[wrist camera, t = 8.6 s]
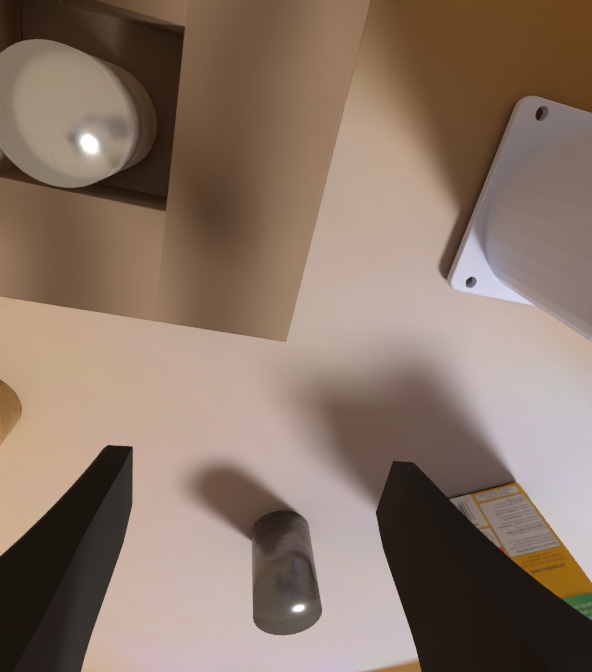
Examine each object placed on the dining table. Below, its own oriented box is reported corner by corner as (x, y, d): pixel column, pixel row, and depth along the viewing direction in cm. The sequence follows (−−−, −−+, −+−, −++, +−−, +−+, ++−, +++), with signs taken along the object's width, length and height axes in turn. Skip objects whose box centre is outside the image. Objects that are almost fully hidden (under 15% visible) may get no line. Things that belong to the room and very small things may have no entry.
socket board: (371, -65, 14) (395, -97, 12) (281, 317, 20) (286, 341, 18) (-206, -272, 11) (-316, -366, 9) (-117, 249, 17) (-171, 269, 15)
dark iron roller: (314, 513, 26) (329, 594, 22) (301, 552, 28) (312, 635, 23) (257, 508, 26) (260, 591, 21) (246, 549, 27) (247, 634, 23)
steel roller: (166, 84, 16) (136, 71, 11) (147, 181, 17) (114, 204, 13) (62, 45, 15) (-15, 14, 10) (51, 150, 16) (-21, 163, 12)
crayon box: (406, 539, 28) (500, 783, 18) (401, 508, 27) (500, 751, 17) (516, 513, 28) (673, 741, 18) (517, 480, 27) (687, 706, 17)
